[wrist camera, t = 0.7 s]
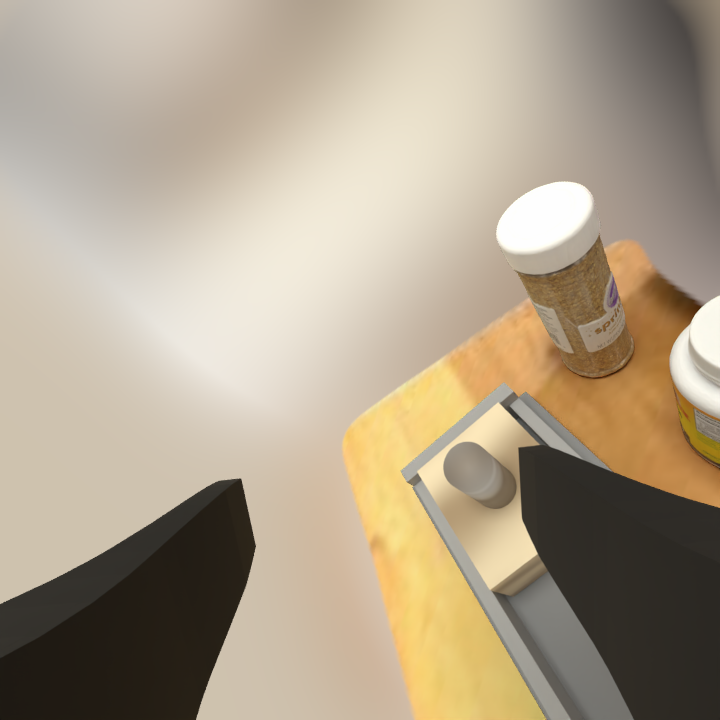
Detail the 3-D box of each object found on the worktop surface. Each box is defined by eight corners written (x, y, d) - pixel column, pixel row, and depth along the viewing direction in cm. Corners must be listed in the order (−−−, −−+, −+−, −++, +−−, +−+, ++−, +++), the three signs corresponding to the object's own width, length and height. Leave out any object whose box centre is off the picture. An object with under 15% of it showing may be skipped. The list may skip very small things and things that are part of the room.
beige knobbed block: (613, 522, 22) (581, 483, 17) (513, 596, 23) (456, 581, 18) (517, 423, 28) (472, 373, 23) (441, 486, 29) (383, 451, 24)
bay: (1096, 921, 12) (1205, 999, 9) (762, 1073, 13) (772, 1175, 11) (529, 397, 29) (511, 372, 27) (418, 490, 31) (390, 475, 28)
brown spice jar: (640, 374, 26) (598, 229, 17) (563, 383, 28) (492, 263, 20) (629, 316, 28) (587, 162, 19) (559, 330, 31) (493, 200, 22)
